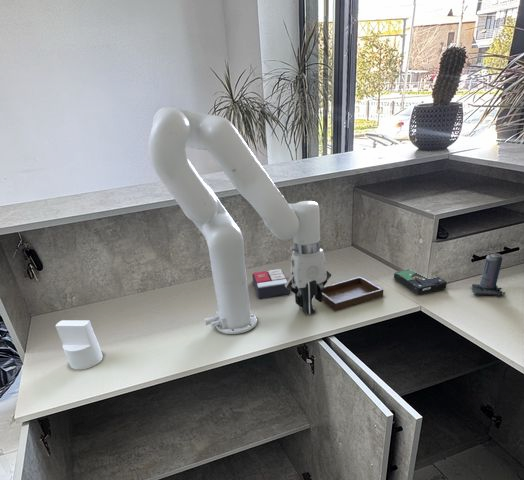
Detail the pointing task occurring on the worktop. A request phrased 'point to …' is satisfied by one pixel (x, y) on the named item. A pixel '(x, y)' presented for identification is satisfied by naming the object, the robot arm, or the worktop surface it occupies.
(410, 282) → the disk drive
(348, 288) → the tray
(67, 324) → the cylinder with rectangular tab
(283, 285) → the calculator
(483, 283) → the grey cylinder on base
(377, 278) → the worktop surface
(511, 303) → the worktop surface
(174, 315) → the worktop surface
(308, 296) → the battery charger
